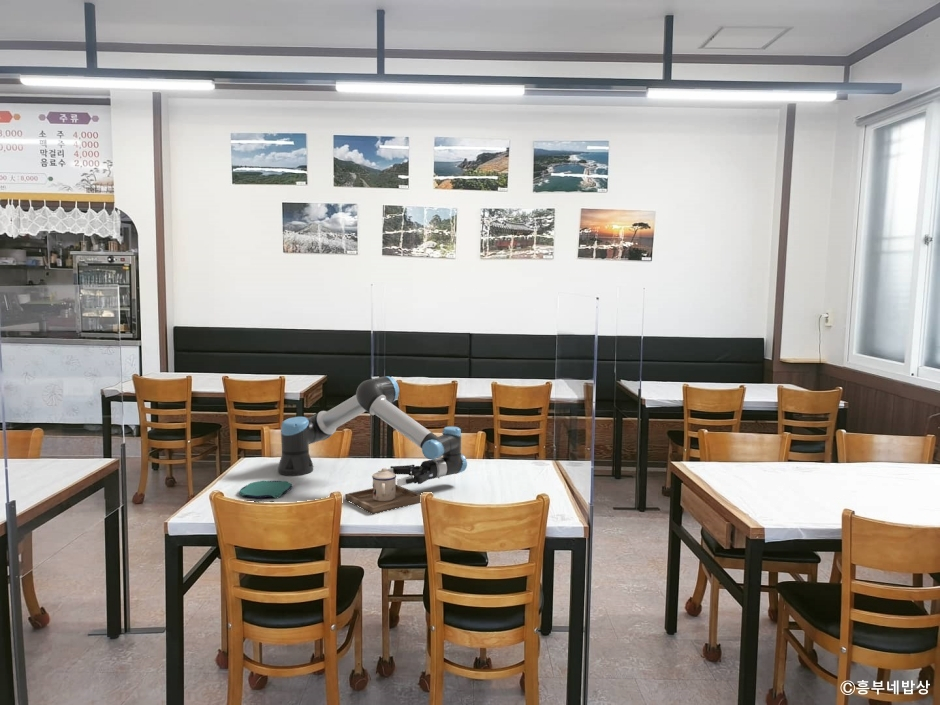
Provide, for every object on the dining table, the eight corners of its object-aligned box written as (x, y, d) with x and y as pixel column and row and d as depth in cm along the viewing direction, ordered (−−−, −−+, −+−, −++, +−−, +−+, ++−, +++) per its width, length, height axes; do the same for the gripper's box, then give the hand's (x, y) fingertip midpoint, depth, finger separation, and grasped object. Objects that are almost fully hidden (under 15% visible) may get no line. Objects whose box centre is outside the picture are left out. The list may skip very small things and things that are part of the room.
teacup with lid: (373, 494, 250) (373, 465, 249) (396, 494, 251) (396, 465, 250) (370, 504, 238) (370, 473, 237) (395, 504, 239) (394, 473, 238)
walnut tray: (345, 500, 245) (345, 494, 245) (393, 489, 259) (393, 483, 259) (372, 514, 230) (372, 507, 230) (422, 501, 244) (422, 495, 244)
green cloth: (299, 485, 265) (299, 479, 265) (271, 511, 235) (271, 505, 235) (252, 484, 266) (252, 479, 266) (219, 510, 237) (218, 503, 236)
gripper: (452, 485, 249) (406, 496, 235) (415, 471, 268) (371, 480, 254) (452, 466, 248) (406, 476, 234) (415, 453, 267) (371, 462, 254)
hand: (387, 478), depth 244 cm, fingers open, 13 cm apart
